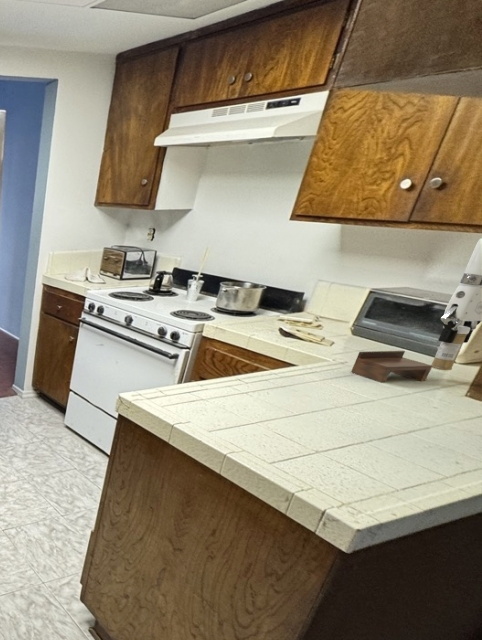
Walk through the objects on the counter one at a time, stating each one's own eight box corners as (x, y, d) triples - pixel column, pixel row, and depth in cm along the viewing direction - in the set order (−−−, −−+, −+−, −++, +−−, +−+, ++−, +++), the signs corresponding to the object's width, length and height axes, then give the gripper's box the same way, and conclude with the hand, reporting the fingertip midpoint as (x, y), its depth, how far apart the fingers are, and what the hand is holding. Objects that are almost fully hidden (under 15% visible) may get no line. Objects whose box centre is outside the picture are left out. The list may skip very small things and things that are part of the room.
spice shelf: (425, 380, 144) (435, 359, 141) (380, 382, 142) (390, 360, 139) (393, 371, 152) (402, 350, 150) (350, 372, 150) (359, 351, 147)
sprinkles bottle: (453, 369, 144) (473, 327, 139) (447, 371, 142) (467, 328, 138) (433, 365, 148) (451, 323, 143) (426, 367, 146) (445, 325, 141)
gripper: (472, 283, 131) (444, 346, 138) (521, 282, 133) (491, 344, 140) (440, 279, 138) (414, 339, 145) (487, 278, 140) (460, 337, 147)
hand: (452, 341), depth 142 cm, fingers closed on sprinkles bottle, 4 cm apart
